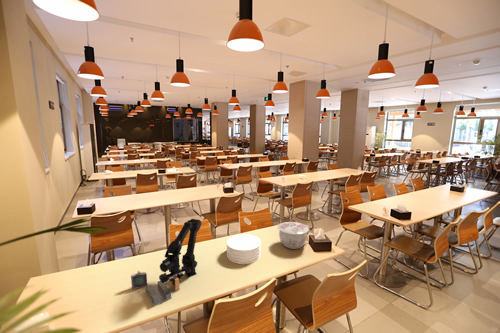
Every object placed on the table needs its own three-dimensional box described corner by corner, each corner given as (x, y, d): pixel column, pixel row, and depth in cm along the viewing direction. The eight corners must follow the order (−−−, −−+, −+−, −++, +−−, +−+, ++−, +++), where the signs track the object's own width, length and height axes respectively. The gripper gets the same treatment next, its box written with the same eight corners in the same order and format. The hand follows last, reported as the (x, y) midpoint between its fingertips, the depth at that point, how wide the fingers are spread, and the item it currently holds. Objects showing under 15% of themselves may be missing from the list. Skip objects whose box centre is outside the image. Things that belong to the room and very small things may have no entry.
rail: (162, 285, 155) (162, 279, 155) (171, 298, 143) (171, 292, 142) (146, 291, 149) (146, 286, 148) (154, 306, 137) (154, 300, 136)
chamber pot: (274, 250, 201) (274, 227, 198) (279, 236, 227) (280, 216, 224) (307, 255, 193) (309, 231, 190) (309, 240, 219) (310, 219, 216)
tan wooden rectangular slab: (175, 284, 156) (175, 274, 155) (179, 289, 151) (179, 278, 150) (172, 285, 154) (171, 275, 153) (175, 290, 150) (175, 280, 149)
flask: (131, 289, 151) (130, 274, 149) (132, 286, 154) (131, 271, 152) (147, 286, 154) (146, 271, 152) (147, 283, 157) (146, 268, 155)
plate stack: (261, 264, 180) (261, 250, 178) (224, 263, 181) (224, 250, 179) (260, 246, 208) (260, 234, 206) (228, 246, 208) (228, 233, 207)
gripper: (183, 253, 162) (184, 274, 165) (155, 262, 151) (157, 285, 153) (190, 260, 154) (191, 282, 156) (161, 270, 142) (163, 294, 144)
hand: (175, 285), depth 153 cm, fingers closed on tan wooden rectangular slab, 2 cm apart
